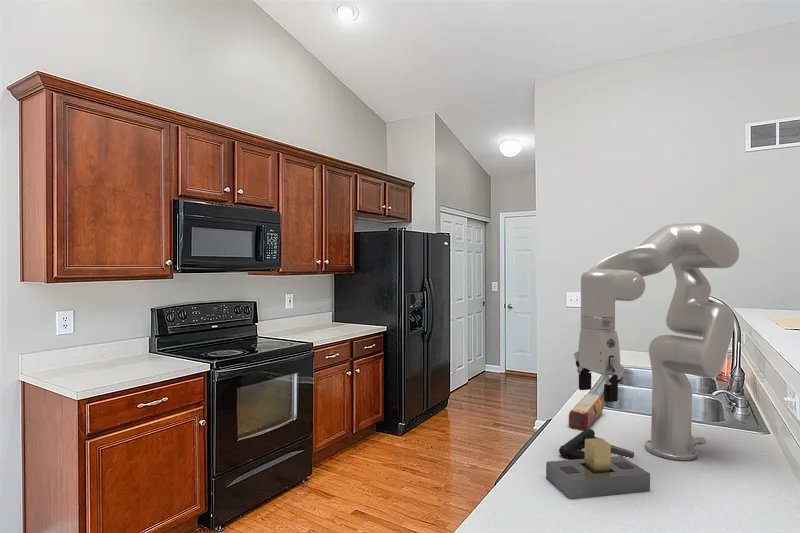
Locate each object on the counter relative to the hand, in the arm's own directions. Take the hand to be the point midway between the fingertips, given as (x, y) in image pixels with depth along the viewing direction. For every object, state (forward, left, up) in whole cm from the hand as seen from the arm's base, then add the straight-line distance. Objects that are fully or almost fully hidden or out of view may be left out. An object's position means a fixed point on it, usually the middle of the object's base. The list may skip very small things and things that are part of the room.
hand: (597, 395), depth 115 cm
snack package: (-22, -37, -20) cm, 48 cm away
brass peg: (+2, +3, -20) cm, 20 cm away
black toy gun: (-9, -13, -20) cm, 26 cm away
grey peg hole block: (+2, +4, -20) cm, 20 cm away
